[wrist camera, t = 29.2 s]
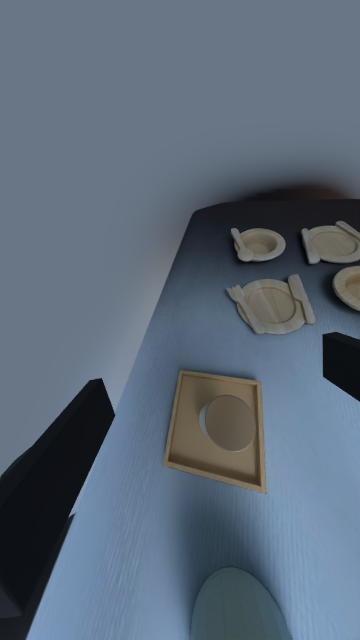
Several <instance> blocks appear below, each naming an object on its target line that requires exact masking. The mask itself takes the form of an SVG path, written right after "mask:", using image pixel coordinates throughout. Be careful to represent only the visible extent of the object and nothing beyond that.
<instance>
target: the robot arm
mask: <svg viewBox="0 0 360 640" xmlns="http://www.w3.org/2000/svg"><path fill="white" fill-rule="evenodd" d="M323 377H324V378H326V379H327V380H329V381H330V382H332V383H333V384H335V385H336V386H337V387H339V388H340V389H342V390H343V391H345V392H346V393H348V394H349V395H351V396H352V397H354V398H355V399H357V400H358V401H359V402H360V340H359V339H356V338H353V337H350V336H347V335H344V334H341V333H338V332H333V333H328V334H323ZM114 417H115V413H114V410H113V407H112V405H111V402H110V399H109V397H108V394H107V391H106V388H105V386H104V383H103V380H102V378H100V379H94V380H90V381H89V382H88V383H87V384H86V385H85V386H84V387H83V389H82V390H81V391H80V392H79V393H78V394H77V395H76V397H75V398H74V399H73V400H72V401H71V403H69V405H68V406H67V407H66V408H65V409H64V410H63V412H62V413H61V414H60V415H59V416H58V417H57V418H56V419H55V421H54V422H53V423H52V424H51V425H50V426H49V427H48V429H47V430H46V431H45V432H44V433H43V434H42V436H41V437H40V438H39V439H38V440H37V441H36V442H35V444H34V445H33V446H32V447H30V448H29V449H28V450H27V451H25V452H24V453H23V454H22V455H21V456H20V457H18V458H17V459H16V460H15V461H14V462H13V463H12V464H11V465H10V466H9V468H8V469H7V470H6V471H5V472H4V473H3V474H2V475H1V478H0V618H7V617H14V616H22V615H23V614H24V612H25V609H26V607H27V605H28V603H29V601H30V599H31V596H32V594H33V592H34V590H35V588H36V586H37V584H38V581H39V579H40V577H41V575H42V573H43V571H44V568H45V566H46V564H47V562H48V560H49V558H50V555H51V553H52V551H53V549H54V547H55V545H56V543H57V540H58V538H59V536H60V534H61V532H62V530H63V527H64V525H65V523H66V521H67V519H68V517H69V514H70V512H71V510H72V508H73V506H74V504H75V501H76V499H77V497H78V495H79V493H80V490H81V488H82V486H83V484H84V482H85V480H86V478H87V476H88V473H89V471H90V469H91V467H92V465H93V463H94V460H95V458H96V456H97V454H98V452H99V450H100V447H101V445H102V443H103V441H104V439H105V437H106V435H107V432H108V430H109V428H110V426H111V424H112V422H113V419H114Z"/></svg>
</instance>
